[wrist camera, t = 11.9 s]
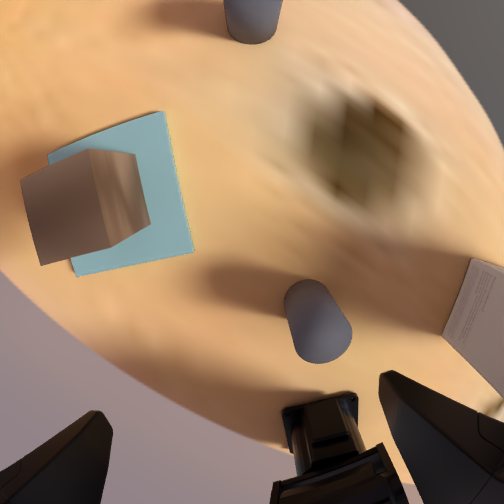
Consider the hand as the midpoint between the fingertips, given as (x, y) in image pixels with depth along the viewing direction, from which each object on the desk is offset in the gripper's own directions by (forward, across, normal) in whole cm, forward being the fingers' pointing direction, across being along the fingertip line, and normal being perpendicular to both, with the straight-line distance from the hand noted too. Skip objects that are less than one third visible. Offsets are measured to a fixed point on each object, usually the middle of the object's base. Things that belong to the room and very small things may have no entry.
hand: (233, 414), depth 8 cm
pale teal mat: (+12, +7, -7) cm, 16 cm away
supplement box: (+12, -20, +7) cm, 24 cm away
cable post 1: (+12, -4, -16) cm, 21 cm away
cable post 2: (+12, -4, +2) cm, 13 cm away
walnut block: (+11, +7, -7) cm, 15 cm away
